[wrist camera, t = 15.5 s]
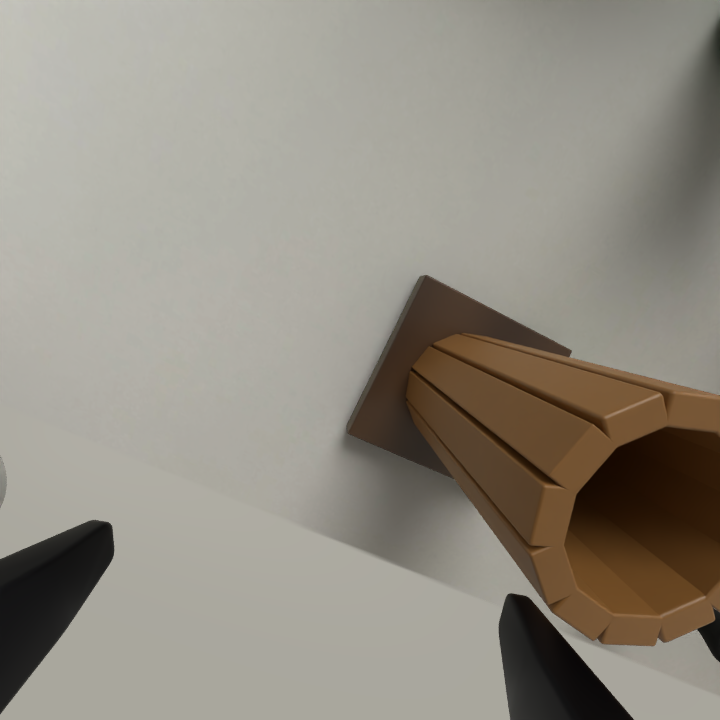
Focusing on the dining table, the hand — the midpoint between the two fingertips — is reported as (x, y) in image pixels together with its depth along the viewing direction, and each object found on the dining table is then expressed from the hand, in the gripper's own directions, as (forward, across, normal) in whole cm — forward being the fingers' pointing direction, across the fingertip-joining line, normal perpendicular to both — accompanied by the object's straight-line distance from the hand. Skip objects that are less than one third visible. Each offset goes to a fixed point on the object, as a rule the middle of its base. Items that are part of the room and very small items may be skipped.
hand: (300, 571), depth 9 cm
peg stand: (+14, -5, 0) cm, 15 cm away
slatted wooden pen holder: (+13, -5, 0) cm, 14 cm away
